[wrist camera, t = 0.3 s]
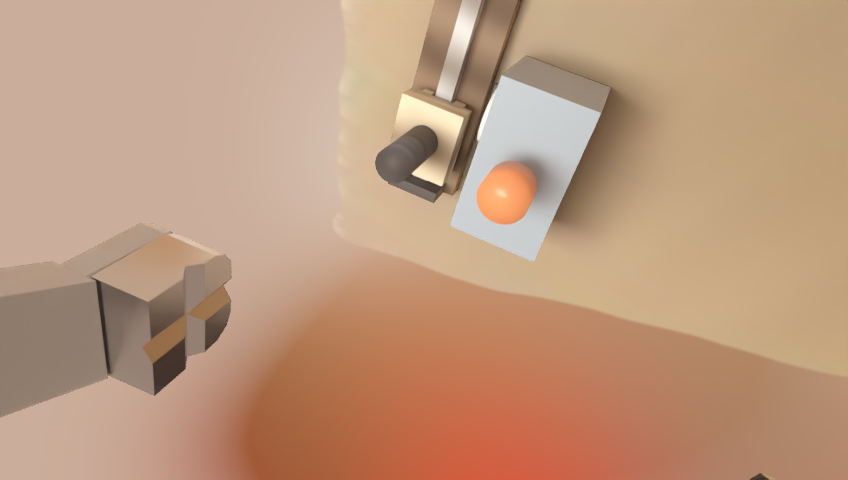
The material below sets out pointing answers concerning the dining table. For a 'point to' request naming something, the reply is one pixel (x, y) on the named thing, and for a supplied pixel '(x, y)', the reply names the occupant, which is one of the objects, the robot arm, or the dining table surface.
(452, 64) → the rail
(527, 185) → the button
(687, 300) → the dining table surface
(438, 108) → the carriage
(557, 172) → the gauge cabinet
